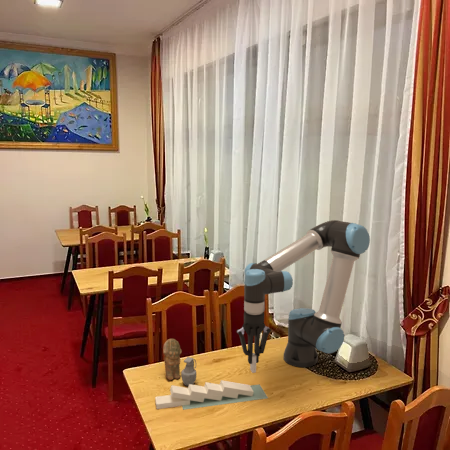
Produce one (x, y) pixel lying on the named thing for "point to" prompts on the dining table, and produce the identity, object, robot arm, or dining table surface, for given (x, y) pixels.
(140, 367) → the dining table surface
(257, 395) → the strip
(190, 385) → the domino
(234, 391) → the domino
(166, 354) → the figurine
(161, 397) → the domino
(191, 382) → the hand grenade
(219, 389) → the domino
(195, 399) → the domino
